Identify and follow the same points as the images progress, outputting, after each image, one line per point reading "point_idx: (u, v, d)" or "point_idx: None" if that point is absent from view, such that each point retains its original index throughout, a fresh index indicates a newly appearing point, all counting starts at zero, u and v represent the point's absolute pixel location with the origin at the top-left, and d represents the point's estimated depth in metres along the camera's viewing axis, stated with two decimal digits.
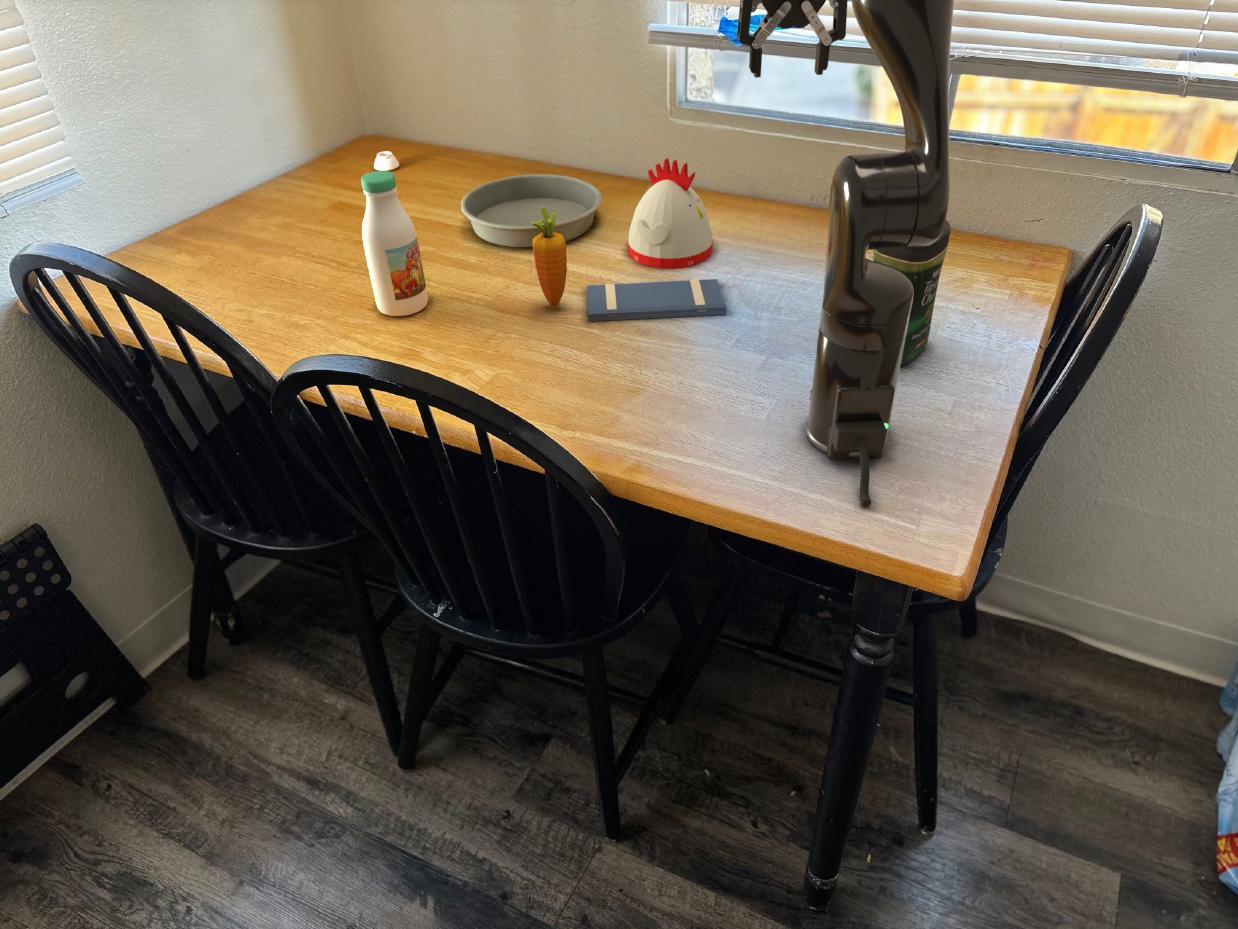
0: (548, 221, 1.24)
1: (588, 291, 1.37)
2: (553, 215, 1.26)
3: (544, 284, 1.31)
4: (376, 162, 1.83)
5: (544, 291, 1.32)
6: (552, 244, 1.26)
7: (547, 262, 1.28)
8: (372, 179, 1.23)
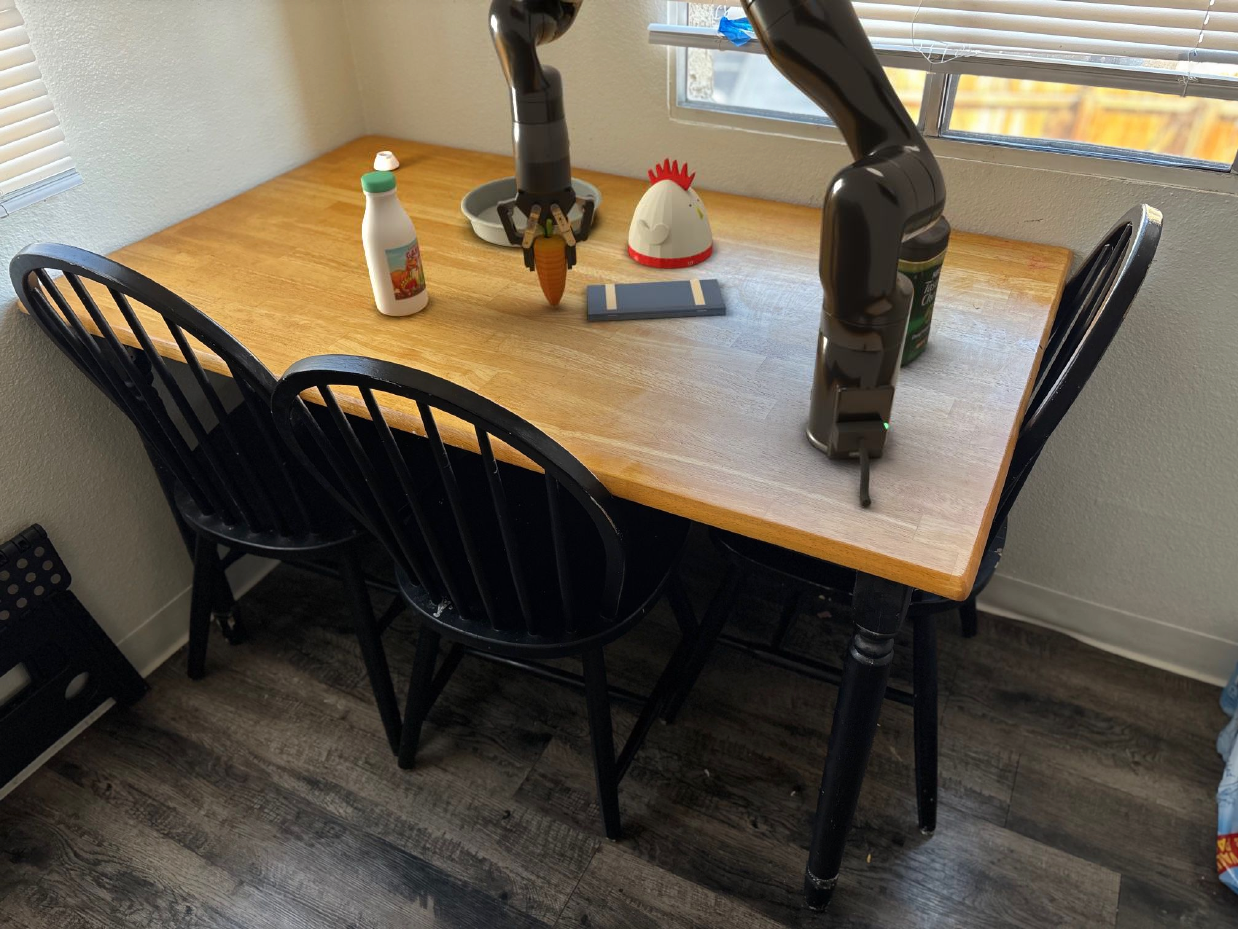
0: (548, 221, 1.24)
1: (588, 291, 1.37)
2: None
3: (544, 284, 1.31)
4: (376, 162, 1.83)
5: (544, 291, 1.32)
6: (552, 244, 1.26)
7: (547, 262, 1.28)
8: (372, 179, 1.23)
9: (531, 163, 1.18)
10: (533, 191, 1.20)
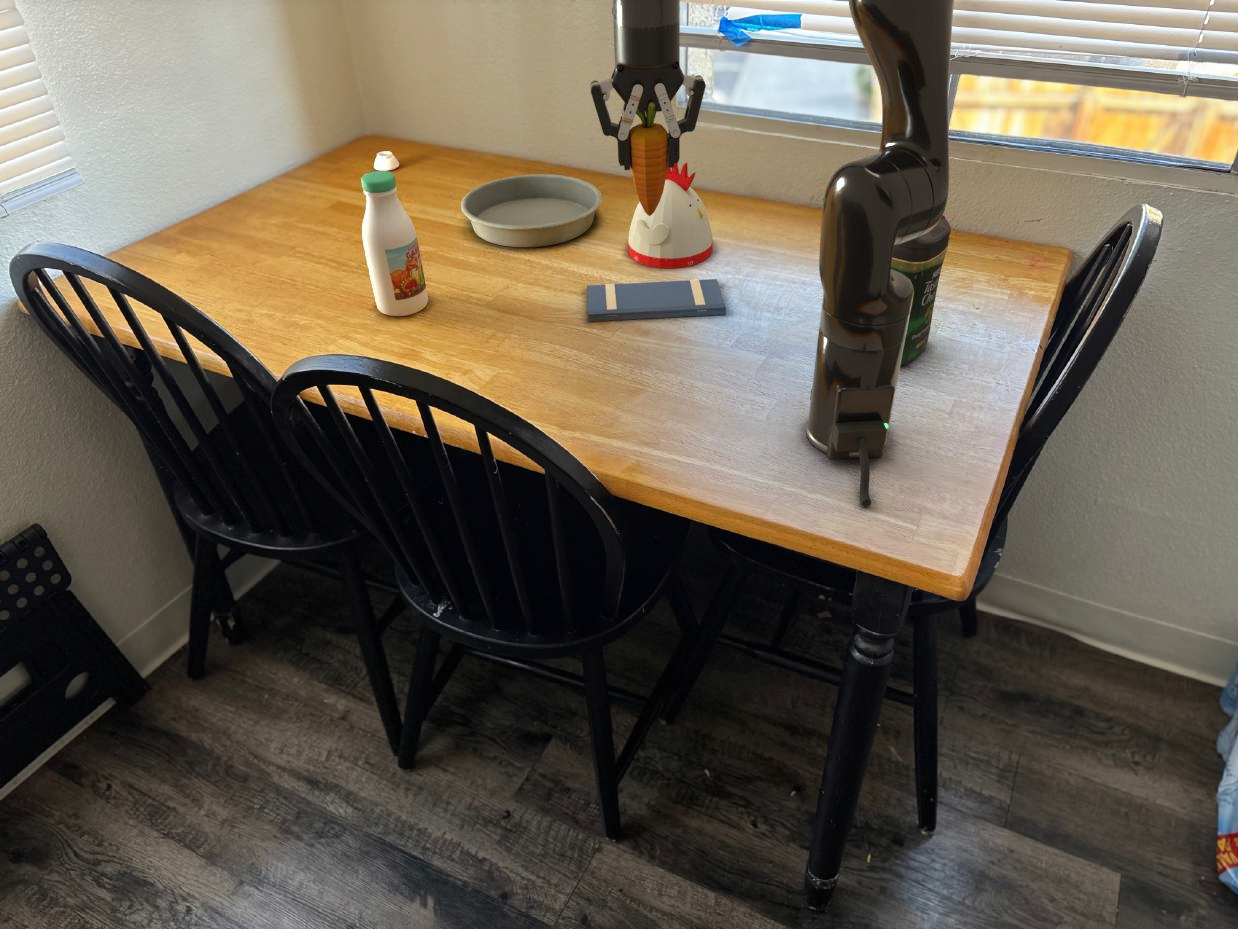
0: (651, 105, 1.05)
1: (588, 291, 1.37)
2: None
3: (640, 185, 1.12)
4: (376, 162, 1.83)
5: (640, 194, 1.13)
6: (653, 134, 1.08)
7: (647, 157, 1.09)
8: (372, 179, 1.23)
9: (637, 28, 0.99)
10: (637, 65, 1.02)
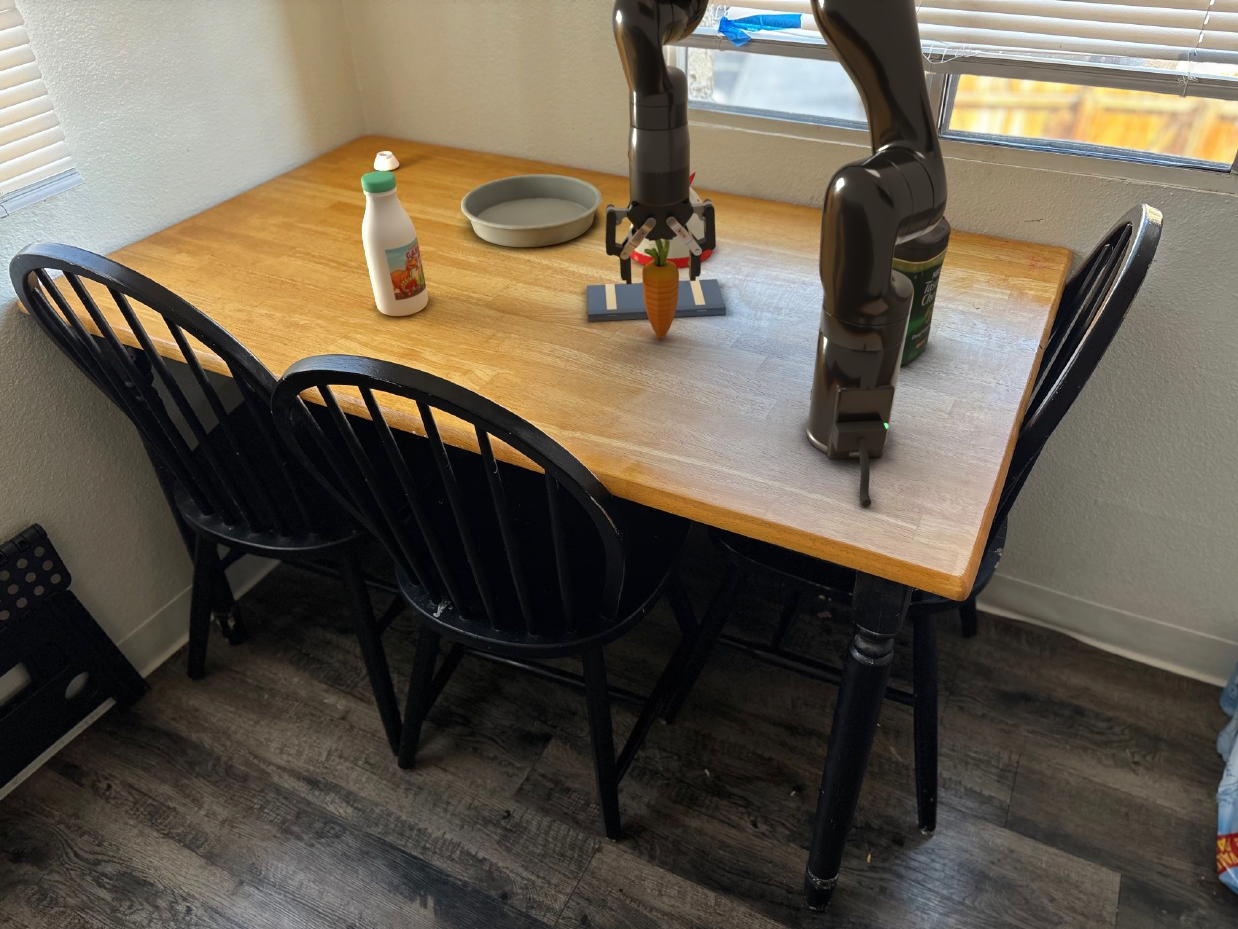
0: (664, 249, 1.16)
1: (588, 291, 1.37)
2: (667, 242, 1.18)
3: (653, 315, 1.22)
4: (376, 162, 1.83)
5: (652, 322, 1.23)
6: (666, 273, 1.18)
7: (659, 292, 1.19)
8: (372, 179, 1.23)
9: (651, 173, 1.08)
10: (651, 203, 1.10)
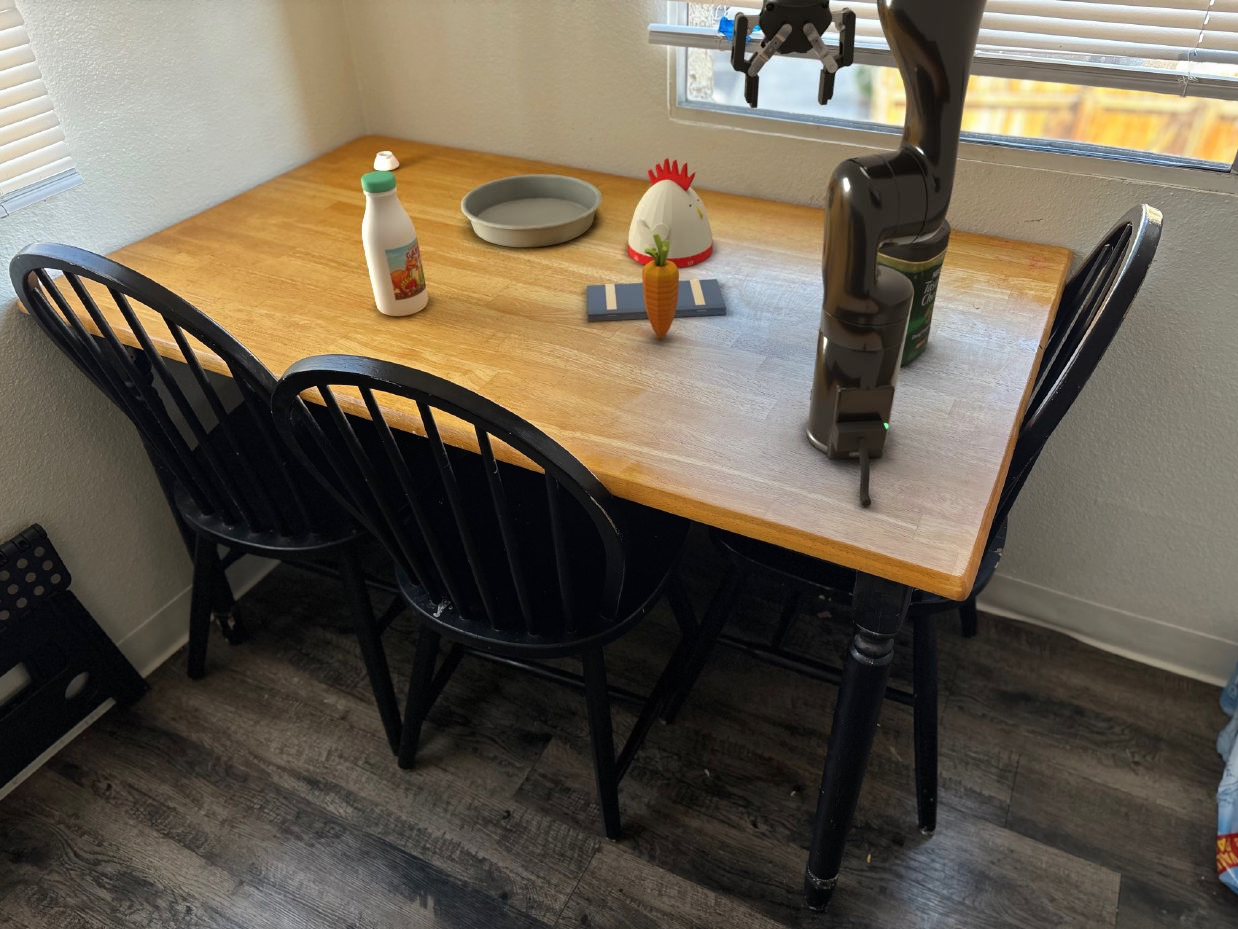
0: (663, 249, 1.16)
1: (588, 291, 1.37)
2: (667, 242, 1.18)
3: (653, 315, 1.22)
4: (376, 162, 1.83)
5: (652, 322, 1.23)
6: (665, 273, 1.18)
7: (659, 292, 1.19)
8: (372, 179, 1.23)
9: None
10: (790, 3, 1.00)
